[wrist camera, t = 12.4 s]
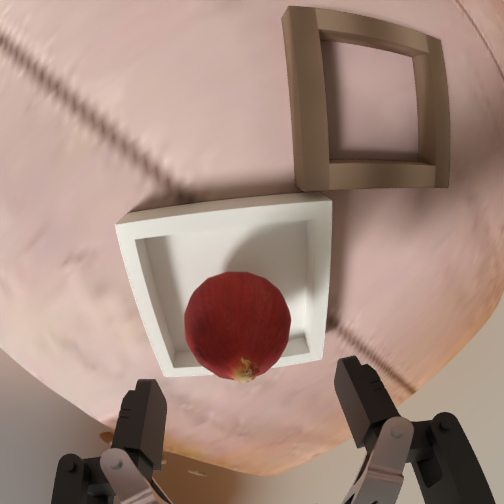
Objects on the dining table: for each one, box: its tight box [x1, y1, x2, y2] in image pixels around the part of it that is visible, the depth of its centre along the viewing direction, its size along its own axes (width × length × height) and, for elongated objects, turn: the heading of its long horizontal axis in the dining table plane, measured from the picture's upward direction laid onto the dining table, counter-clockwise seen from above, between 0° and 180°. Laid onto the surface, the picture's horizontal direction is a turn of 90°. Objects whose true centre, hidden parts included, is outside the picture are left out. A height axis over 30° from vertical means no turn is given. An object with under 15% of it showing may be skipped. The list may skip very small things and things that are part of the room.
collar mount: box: [282, 6, 450, 192], centre depth 14 cm, size 11×11×2 cm
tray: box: [115, 192, 332, 377], centre depth 18 cm, size 12×12×2 cm
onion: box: [184, 272, 291, 383], centre depth 15 cm, size 6×6×8 cm
